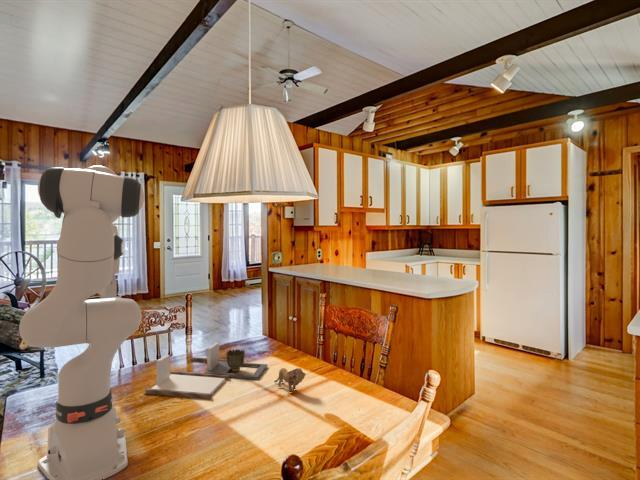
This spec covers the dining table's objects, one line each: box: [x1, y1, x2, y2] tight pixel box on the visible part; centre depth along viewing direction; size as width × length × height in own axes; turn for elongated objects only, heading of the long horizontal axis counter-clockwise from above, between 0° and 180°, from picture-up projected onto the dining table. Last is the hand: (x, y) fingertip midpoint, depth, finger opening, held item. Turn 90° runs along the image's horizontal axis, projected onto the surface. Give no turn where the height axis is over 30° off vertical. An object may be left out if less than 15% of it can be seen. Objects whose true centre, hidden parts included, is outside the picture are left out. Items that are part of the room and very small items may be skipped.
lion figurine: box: [273, 367, 306, 393], centre depth 130 cm, size 15×5×9 cm, turn 50°
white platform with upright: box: [150, 354, 226, 395], centre depth 130 cm, size 22×13×10 cm, turn 82°
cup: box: [225, 348, 246, 373], centre depth 146 cm, size 8×7×8 cm
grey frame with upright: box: [203, 342, 268, 380], centre depth 146 cm, size 22×13×10 cm, turn 82°
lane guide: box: [144, 356, 245, 400], centre depth 139 cm, size 24×33×2 cm
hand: (104, 306), depth 129 cm, fingers closed
